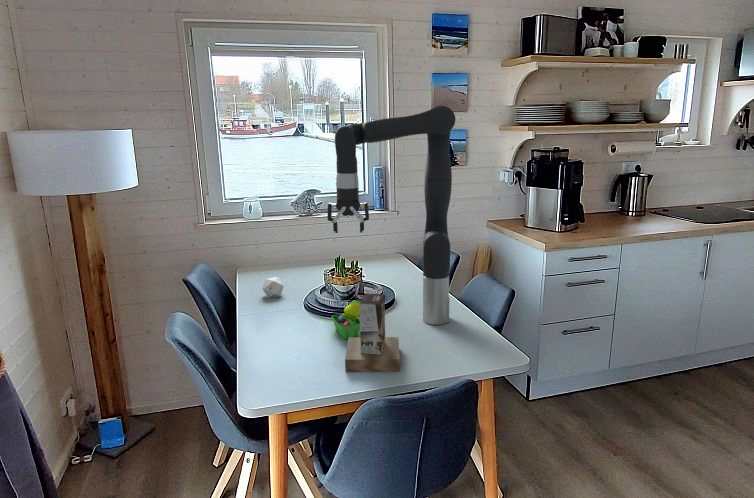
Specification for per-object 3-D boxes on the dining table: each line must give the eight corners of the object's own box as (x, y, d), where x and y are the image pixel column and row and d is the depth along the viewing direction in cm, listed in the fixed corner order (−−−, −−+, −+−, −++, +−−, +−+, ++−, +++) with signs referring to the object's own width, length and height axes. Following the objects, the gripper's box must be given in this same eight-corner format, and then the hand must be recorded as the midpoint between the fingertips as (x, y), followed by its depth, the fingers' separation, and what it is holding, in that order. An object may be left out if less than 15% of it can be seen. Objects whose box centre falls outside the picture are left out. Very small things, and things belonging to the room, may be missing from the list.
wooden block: (398, 348, 164) (398, 337, 163) (399, 371, 150) (399, 359, 148) (349, 348, 164) (348, 337, 163) (345, 371, 150) (345, 359, 149)
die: (259, 298, 213) (259, 284, 206) (268, 282, 219) (269, 269, 211) (276, 305, 212) (278, 292, 205) (285, 290, 218) (287, 277, 211)
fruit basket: (331, 328, 180) (329, 299, 177) (354, 324, 183) (353, 295, 180) (342, 341, 170) (340, 310, 167) (366, 336, 173) (365, 305, 170)
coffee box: (381, 355, 151) (380, 304, 147) (359, 353, 152) (358, 303, 148) (386, 341, 160) (385, 293, 156) (366, 340, 161) (364, 292, 157)
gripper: (368, 184, 177) (369, 229, 181) (327, 184, 176) (329, 230, 181) (368, 187, 169) (369, 234, 174) (325, 188, 169) (327, 235, 174)
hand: (348, 232), depth 177 cm, fingers open, 8 cm apart
